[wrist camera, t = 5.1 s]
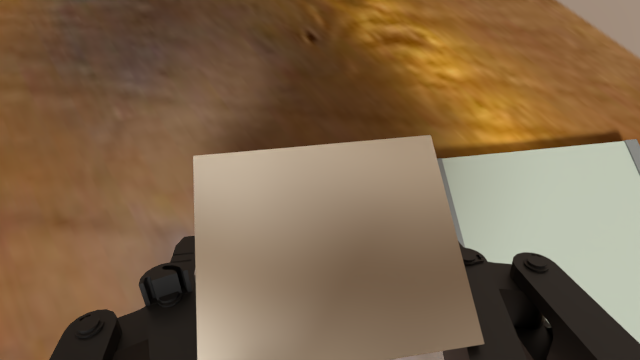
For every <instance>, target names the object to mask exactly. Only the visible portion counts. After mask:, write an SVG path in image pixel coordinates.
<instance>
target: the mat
mask: <svg viewBox="0 0 640 360" xmlns="http://www.w3.org/2000/svg"><path fill="white" fill-rule="evenodd" d="M437 161H438V165H439V169H440V173H441V177H442V181H443V184H444V188H445V192H446V196H447V200H448V204H449V208H450V212H451V215H452V219H453V223H454V227H455V231H456V235H457V239H458V241H459V243H460V244H461V245H462V246H463V247H465V248H470V249H473V250H475V251H478V252H479V253H481V254H482V255H483V256H484V257H485V258H486V260H487V261H488V262H494V263H505V264H512V261H513V257H514V256H515V255H516V254H519V253H523V252H529V253H536V254H540V255H542V256H545V257H547V258H549V259H550V260H552V261H553V262H555V263H556V264H557V265H558V266H559V267H560V268H561V269H562V270H563V271H564V272H565V273H566V274H567V275H569V276H570V277H571V278H572V279H573V280H574V281H575V282H576V283H577V284H578V285H579V286H580V287H581V288H582V289H583V290H584V291H585V292H586V293H587V294H588V295H589V296H591V297H592V298H593V299H594V300H595V301H596V302H597V303H598V304H599V305H600V306H601V307H602V308H603V309H604V310H605V311H606V312H607V313H608V314H609V315H610V316H611V317H613V318H614V319H615V320H616V321H617V322H618V323H619V324H620V325H621V326H622V327H623V328H624V329H625V330H626V331H627V332H628V333H629V334H630V335H631V336H632V337H633V338H635V339H636V340H637V341H638V342H639V343H640V146H639V144H638V141H637V139H634V140H625V141H619V142H609V143H599V144H588V145H578V146H568V147H557V148H547V149H537V150H526V151H516V152H506V153H495V154H485V155H475V156H464V157H454V158H444V159H442V158H438V159H437ZM545 319H546V318H545ZM546 320H547V319H546ZM548 323H549V322H548Z"/></svg>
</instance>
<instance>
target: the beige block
mask: <svg viewBox="0 0 640 360" xmlns="http://www.w3.org/2000/svg"><path fill="white" fill-rule="evenodd" d="M193 169H194V217H195V266H196V314H197V360H390V359H396V358H402V357H408V356H414V355H421V354H427V353H433V352H439V351H445V350H451V349H457V348H464V347H470V346H476V345H482V344H484V340H483V336H482V332H481V328H480V324H479V320H478V316H477V312H476V309H475V305H474V301H473V297H472V293H471V289H470V285H469V281H468V278H467V274H466V270H465V266H464V262H463V258H462V254H461V250H460V247H459V243H458V239H457V235H456V231H455V227H454V223H453V219H452V215H451V212H450V208H449V204H448V200H447V196H446V192H445V188H444V184H443V181H442V177H441V173H440V169H439V165H438V161H437V157H436V153H435V150H434V146H433V142H432V138H431V135H425V136H414V137H402V138H391V139H380V140H368V141H357V142H346V143H334V144H323V145H312V146H301V147H289V148H278V149H267V150H255V151H244V152H233V153H221V154H210V155H199V156H193Z"/></svg>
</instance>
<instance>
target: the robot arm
mask: <svg viewBox="0 0 640 360" xmlns="http://www.w3.org/2000/svg"><path fill="white" fill-rule="evenodd" d="M458 243H459V241H458ZM459 247H460V250H461V254H462V258H463V262H464V266H465V270H466V274H467V278H468V281H469V285H470V289H471V293H472V297H473V301H474V305H475V309H476V312H477V316H478V320H479V324H480V328H481V332H482V336H483V340H484V344H482V345H476V346H470V347H464V348H457V349H451V350H445V351H443V355H444V360H640V343H639V342H638V341H637V340H636V339H635V338H633V337H632V336H631V335H630V334H629V333H628V332H627V331H626V330H625V329H624V328H623V327H622V326H621V325H620V324H619V323H618V322H617V321H616V320H615V319H614V318H613V317H611V316H610V315H609V314H608V313H607V312H606V311H605V310H604V309H603V308H602V307H601V306H600V305H599V304H598V303H597V302H596V301H595V300H594V299H593V298H592V297H591V296H589V295H588V294H587V293H586V292H585V291H584V290H583V289H582V288H581V287H580V286H579V285H578V284H577V283H576V282H575V281H574V280H573V279H572V278H571V277H570V276H569V275H567V274H566V273H565V272H564V271H563V270H562V269H561V268H560V267H559V266H558V265H557V264H556V263H555V262H553V261H552V260H550V259H549V258H547V257H545V256H542V255H540V254H536V253H529V252H523V253H519V254H516V255H515V256H514V257H513V261H512V264H505V263H494V262H488V261H487V260H486V258H485V257H484V256H483V255H482V254H481V253H479V252H478V251H475V250H473V249H470V248H465V247H463V246H462V245H461V244H460V243H459ZM139 287H140V290H141V293H142V296H143V299H144V302H145V305H146V306H145V307H144V308H142V309H140V310H138V311H135V312H133V313H130V314H127V315H125V316H122V317H119V318H117V317H116V315H115V314H114V312H112V311H109V310H96V311H93V312H89V313H87V314H85V315H83V316H81V317H79V318H77V319H76V320H75V321H74V322H72V323H71V324H70V325H69V326H68V327H67V329H66V330H65V331H64V333H63V335H62V336H61V338H60V340H59V342H58V344H57V346H56V348H55V350H54V352H53V354H52V356H51V358H50V359H49V360H197V314H196V266H195V236H189V237H184V238H183V239H182V240H181V241H180V242H179V243H178V244H177V245H176V247H175V250H174V253H173V256H172V258H171V261H170V263H165V264H161V265H158V266H156V267H153V268H152V269H150V270H149V271H147V272H146V273H145V274H144V275H143V276H142V277H141V279H140V282H139ZM545 318H546V319H547V320H546V319H545ZM548 322H549V323H548Z"/></svg>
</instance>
